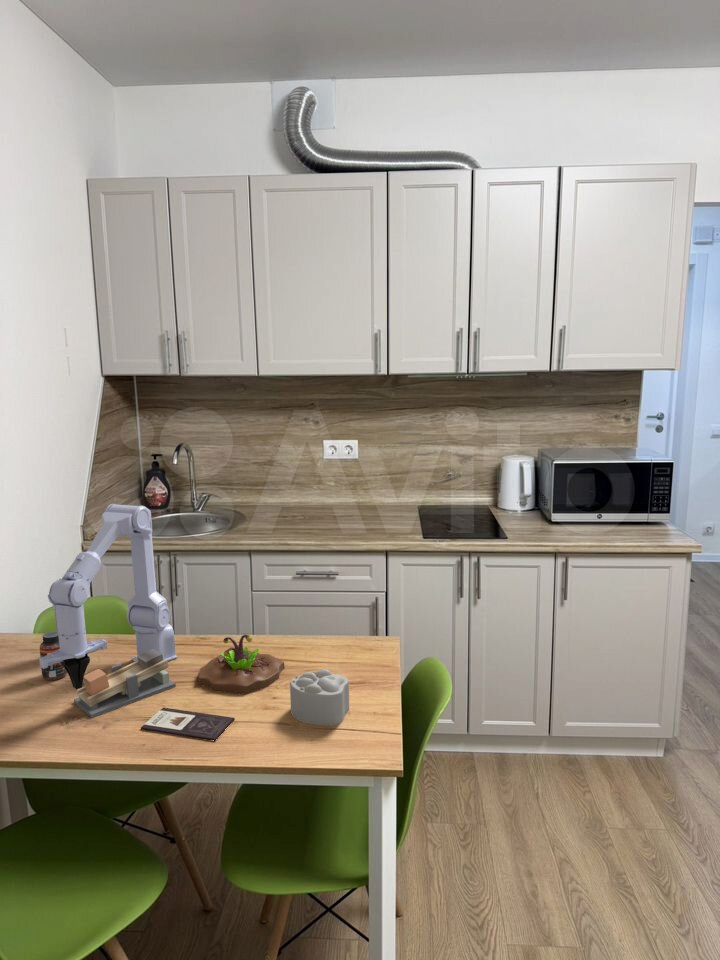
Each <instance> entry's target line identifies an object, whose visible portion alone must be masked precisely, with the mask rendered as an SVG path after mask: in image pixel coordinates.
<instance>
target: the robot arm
mask: <svg viewBox="0 0 720 960" xmlns="http://www.w3.org/2000/svg"><path fill="white" fill-rule="evenodd" d="M152 533H153V522H152V511H151V510H150V509H149V508H148V507H146V506H145V505H130V504H129V505H127V504H117V503H111V504H109V505H108V506H107V507H106V509H105V510H104V512H103V513H102V515H101V526H100V528H99V529H98V531H97V533H96V534H95V536H94V538H93V540H92V541H91V543H90V545H89V547H88V548H87V550H86V551H83V552H79V553H78V554H77V555H76V557H75V558H74V560H73V562H72V563H71V565H70V567H69V568H68V569H67V570H66V572H65V573H64V574H63V576H62V578H59V579H56V581H54V582H52V584H51V585H50V586H49V587H50V588H49V591H48V594H47V598H48V601H49V603H50V604H52V608H53V611H54V613H55V612H56V616H57V626H58V636H59V645H60V649H59V650H57V651H55V652H53V653H51V654H49V655H46V656H44V657H41V658H40V657H39V659H38V660H39V666H40V668H41V667H42V668H43V669H44V668H47V667H48V666H50V665H53V664H56V663H60V662H61V664H62V665H63V666H64V668H65V669H66V671H67V674H68V676H69V679H70V681H71V685H72V688H74V689H75V690H77V689H80V688H82V687H83V685H84V681H83V678H84V675H86V670H87V668H88V667H89V664H90V662H91V657H90V656H88V654H91V653H94V652H98V651H101V650H102V651H106V650H108V641H107V640H105V639H103V638H102V639H98V640H92V641H87V631H86V621H85V619H86V618H85V610H84V603H85V602H86V601H87V600H88V597H89V590H90V588H91V583H92V581H93V580H94V578H95V576H96V575H97V573H98V572H99V570H100V569H101V567H102V561H101V558H103V556H104V554H105V553H107V551H108V549H110V547H111V546H112V545H113V543H114V542H115V541H116V539H118V537H119V536H120V537H121V536H125V535H126V536H127V537H129V539H130V540H129V541H130V550H131V551H130V552H131V561H132V563H131V564H132V573H133V584H134V586H133V587H134V596H132V597H131V598H130V599H129V600H128V602H127V604H128V606H127V607H128V608H127V611H126V612H127V613H126V619H127V623H128V625H130V626H131V627H132V631H134V632H135V644H136V656H134V657H133V656H132V657H131V661H133V662H135V661H137V660H138V659H137V656H139V655H141V654H143V653H145V652H147V651H149V650H151V649H155V650H156V651H158V652H159V653H161V654H162V656H163V660H165V659H166V660H167V662H169V661H172V660H175V659H178V656H177V653H176V652H177V651H176V639H175V638H176V637H175V631H174V628H173V626H172V625H171V624H170V623H169V622H170V619H171V611H170V608H169V607H168V603H167V602H168V601H167V599H166V598H165V597H164V596H163V595H161V594H160V593H159V592H158V591H157V584H156V581H157V580H156V572H155V571H156V569H155V558H154V544H153V535H152Z"/></svg>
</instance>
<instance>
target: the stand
mask: <svg viewBox="0 0 720 960" xmlns="http://www.w3.org/2000/svg"><path fill="white" fill-rule="evenodd" d="M121 668H123V664H122V663H118V664H114V665H113V666H111V668H110V669H111V673H113V672H115V671H117V670H119V669H121ZM169 674H170V673H169V672H168V671H167V670H166V669H164V670H162V671H160V672H158V673H156V674H154V675H152V676H150V677H148V678H146V679H144V680H143V681H141V682H140V684H141V686H140V687H138V678H137V675H136V674H135V675H132V676H129V677H126V683H127V689H125V691H126V694H125V695H122V694H121V693H117V694H115V695H113V696H111V697H109V698H107V699H105V700H103V701H101V702H99V703H97V704H95V705H93V706H91V707H90V706H89V705H88V704H87V703H85V702H84V701H83V700H82V699H81V698H80V697H79V696H78V697H76V698H74V699H73V703H74V704H75V705H77V707H79V708H80V709H81V710H82V711H83V712H85V713H86V714H87V715H88V716H89V717H90V718H91V719H92V718H95V717H97V716H100V715H103V714H106V713H109V712H111V711H114V710H116V709H119V708H121V707H125V706H127V705H130V704H133V703H135V702H138V701H141V700H143V699H146V698H149V697H151V696H155V695H156V694H159V693H162V692H165V691H167V690H171V689H173V688H175V687H177V686H176V685H177V684H176V683H175V682H174V681H173V680H171V679H170V675H169Z"/></svg>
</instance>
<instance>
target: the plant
mask: <svg viewBox="0 0 720 960" xmlns="http://www.w3.org/2000/svg"><path fill="white" fill-rule="evenodd" d="M244 638H245V640H246V642H248V643H252V641H253V638H252V636H250V635H248V634H243V635H241V637H240V638H239V642H238V643H237V642H236V641H235V639H233V638H232V637H229V636H228V637H224V638H223V641H222V642H223V643H224V644H227V643H229V641H230V642H231V643H232V645H233V646H232V647H229V648H227V649H226V650H224V651H223V652H220V654H219V655H217V656H216V657H214V658H212V659H211V660H210V661H208V662H207V663H206V664H205V665H203V666H202V667H201V668H200V669H199V671H198V673H197V676H198V678H197V679H198V686H199V687H200V686H201V687H202V686H203V687H206V688H209V689H210V690H211V692H219V691H220V693H221V692H222V693H229V692H231V693H233V694H238V693H240V694H241V695H248V694H250V693H252V692H255V691H258V690H262V689H266V688H267V687H269V686H271V685H272V684H274V683H275V682H276V681H278V680H279V679H280V674H281V673H282V671H284V670H285V669H286V668H285V662H284V661H283V660H282V659H280V658H277V657H275V656H273V655H272V654H269V653H259V652H260V650H261V649H259V648H258V649H257V648H256V649H255V650H252V651H251V650H249V647H248V646H245V647H244V644H243V641H244ZM231 693H230V694H231Z"/></svg>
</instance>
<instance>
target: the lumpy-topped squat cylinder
mask: <svg viewBox="0 0 720 960" xmlns="http://www.w3.org/2000/svg"><path fill="white" fill-rule="evenodd" d="M289 693H290V695H289V696H290V697H289V698H290V713H291V715H292V716H293V717H294V718H295V719H296V720H298V721H300V722H302V723H304V724H305V723H306V724H309V725H310V724H311V725H315V726H316V725H318V726H329V727H330V726H336V725H339V724H342V723H343V721H344V720H345V717H346V715H347V714H348V713H349V712H350V681H349V678H347V677H346V676H344V675H341V674H336V673H332V672H331V671H330V669H326V668H323V669H319V670H318V671H316V672H314V671H313V672H310V671H307V672H303V674H301V675H298V676H295V677H293V678H292V679H291V680H290V681H289Z"/></svg>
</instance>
